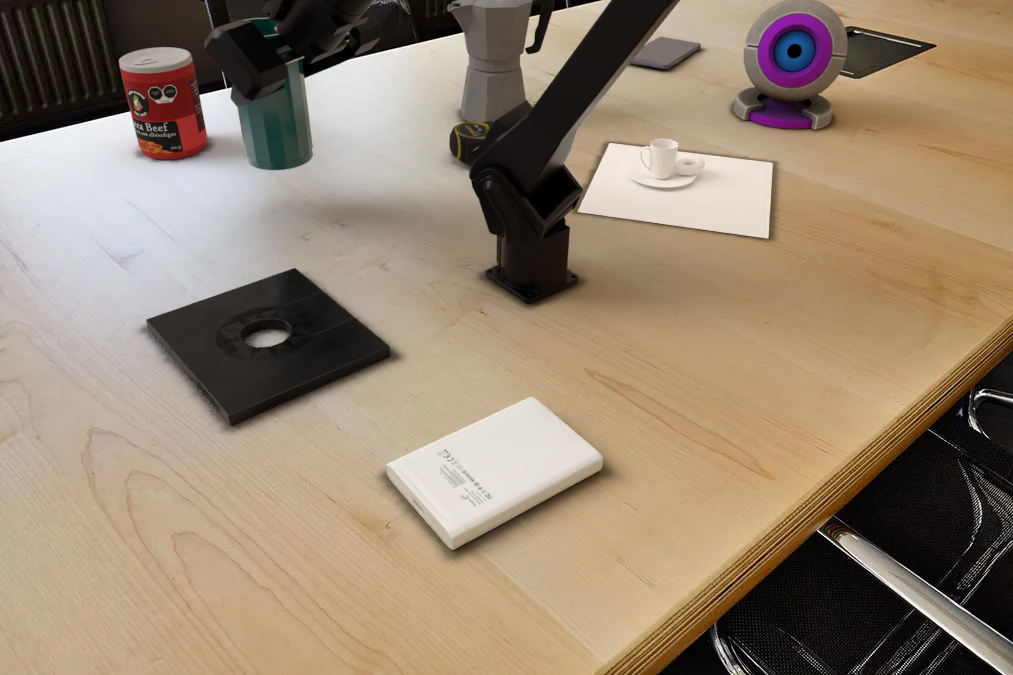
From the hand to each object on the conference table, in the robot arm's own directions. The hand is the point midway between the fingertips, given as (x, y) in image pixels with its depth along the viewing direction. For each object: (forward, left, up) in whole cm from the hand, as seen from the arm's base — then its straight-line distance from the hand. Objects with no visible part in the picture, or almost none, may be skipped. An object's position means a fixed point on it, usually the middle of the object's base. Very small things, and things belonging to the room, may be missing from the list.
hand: (260, 91), depth 84 cm
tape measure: (-3, -26, -13) cm, 29 cm away
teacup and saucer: (-23, -39, -13) cm, 47 cm away
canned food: (+22, +2, -13) cm, 25 cm away
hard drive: (-46, +7, -13) cm, 48 cm away
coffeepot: (+7, -37, -13) cm, 39 cm away
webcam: (-16, -68, -13) cm, 71 cm away
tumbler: (-1, -1, -7) cm, 7 cm away
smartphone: (+11, -74, -13) cm, 76 cm away
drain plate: (-22, +12, -13) cm, 28 cm away
